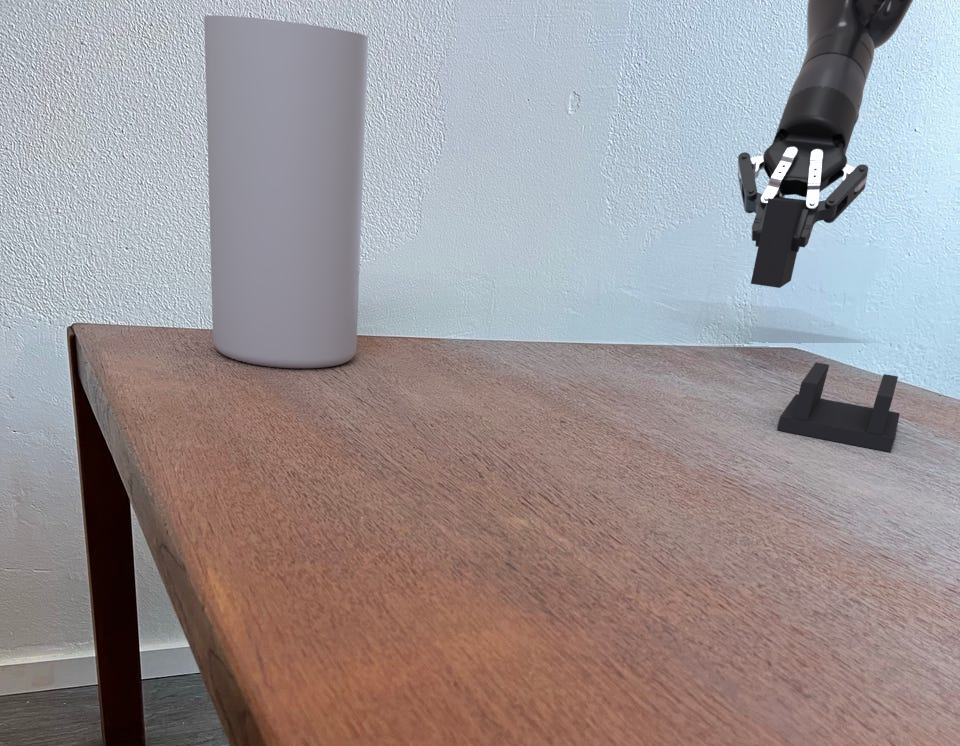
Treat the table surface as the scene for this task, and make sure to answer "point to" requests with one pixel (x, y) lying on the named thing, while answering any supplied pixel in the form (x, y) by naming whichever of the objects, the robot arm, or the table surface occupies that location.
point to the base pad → (841, 414)
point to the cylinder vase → (285, 189)
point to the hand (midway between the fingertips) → (777, 243)
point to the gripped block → (777, 242)
